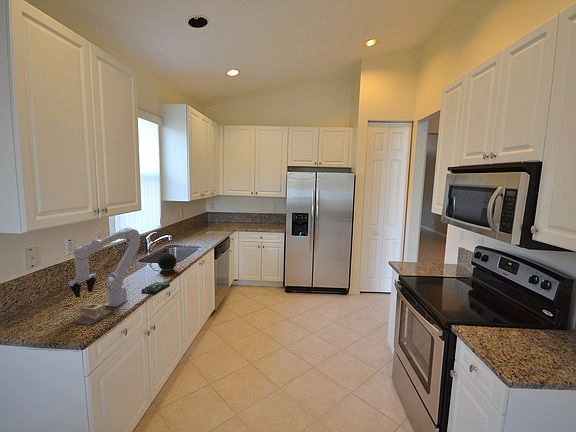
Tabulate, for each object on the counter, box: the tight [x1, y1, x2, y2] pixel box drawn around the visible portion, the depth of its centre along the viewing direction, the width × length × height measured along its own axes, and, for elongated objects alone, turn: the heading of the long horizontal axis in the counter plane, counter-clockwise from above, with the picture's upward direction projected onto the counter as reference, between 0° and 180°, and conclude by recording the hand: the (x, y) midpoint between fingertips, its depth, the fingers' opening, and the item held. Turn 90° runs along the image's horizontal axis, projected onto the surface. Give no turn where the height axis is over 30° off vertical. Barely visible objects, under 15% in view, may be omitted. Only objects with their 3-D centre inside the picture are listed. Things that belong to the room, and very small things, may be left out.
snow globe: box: [157, 252, 178, 276], centre depth 223 cm, size 13×13×15 cm
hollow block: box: [79, 302, 106, 319], centre depth 150 cm, size 6×9×5 cm, turn 78°
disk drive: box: [141, 281, 171, 295], centre depth 190 cm, size 10×3×15 cm
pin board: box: [72, 309, 113, 326], centre depth 150 cm, size 14×10×5 cm
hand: (84, 294), depth 156 cm, fingers open, 7 cm apart
